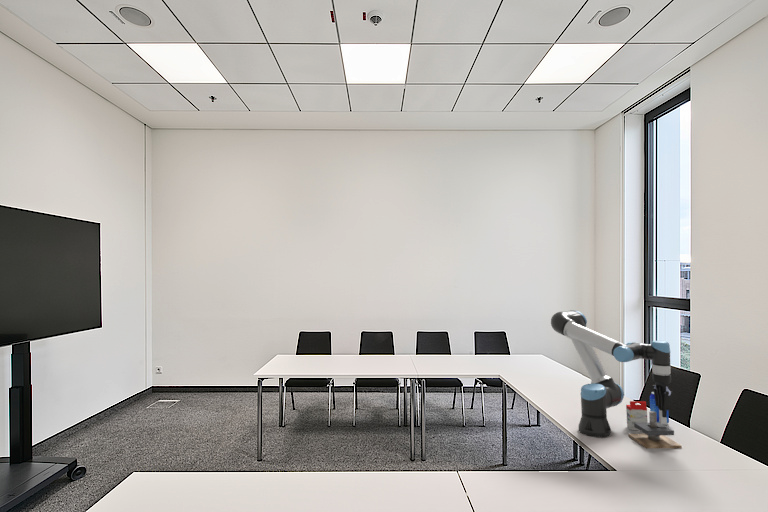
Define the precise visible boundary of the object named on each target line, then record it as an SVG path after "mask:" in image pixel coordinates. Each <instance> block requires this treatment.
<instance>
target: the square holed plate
mask: <svg viewBox="0 0 768 512" xmlns="http://www.w3.org/2000/svg"><path fill="white" fill-rule="evenodd" d="M634 427H635V428H637V429H638V430H637V431H640V432H642V434H646V435H665V436H675V431H674V430H673V429H671V428H670V427H667V425H663V424H660V423H657V428H650V422H648V423H634Z"/></svg>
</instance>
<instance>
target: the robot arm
mask: <svg viewBox="0 0 768 512" xmlns="http://www.w3.org/2000/svg"><path fill="white" fill-rule="evenodd" d="M587 323H588V321H587V318H586V316H585V314H583V313H582V312H581V311H578V310H571V309H570V310H567V311H565V310H564V311H558V312H556V313H554V314H553V315H552V316H551V319H550V326H551V328H552V329H553V330H554V331H555V332H556V333H557V334H560V335H562V336H565V337H566V338H568V339H569V340H571V341H572V344H573V346H574V348H575V350H576V352H577V354H578V356H579V358H580V361H581V362H582V365H583V367H584V368H585V370H586V372H587V374H588V377H589V379H590V383H587V384H584V385H582V386H581V388H580V404H581V417H580V420H579V423H578V432H579V433H580V434H582V435H585V436H588V437H593V438H607V437H610V436H612V428H611V426H610V423H609V420H608V415H607V411H608V410H607V409H610V408H614V407H617V406H618V405H620V404H621V403H622V402H623V400H624V396H625V394H624V393H625V392H624V390H623V388H622V386H621V385H620V384H618V383H617V382H615V381H614V379H613V377H611V376H609V375H608V373H607V372H606V370H605V368H604V366H603V364H602V361H601V360H600V358H599V356H598V354H597V352H596V349H597V350H599V351H602V352H604V353H607V354H608V355H610V356H612V357H614V359H615V360H616V361H618V362H619V363H629V362H632V361H636V360H640V359H641V360H649V361H651V363H652V366H651V369H652V381H653V382H654V384H653V385H652V386H651V387H652V390H653V391H652V392H654V397H655V403H656V406H658V409H659V423H660V424H667V410H668V411H670V410H671V402H672V397H673V394H674V393H673V391H671V390H670V386H669V384H670V383H672V375H671V369H672V367H671V347H670V342H668V341H664V340H653V341H651V343H649V344H648V343H642V342H637V341H632V342H631V341H628V342H627V343H626V344H625V343H624V342H621V341H618V340H616V339H614V338H611V337H608V336H607V335H604V334H601V333H599V332H597V331H595V330H593V329H590V328H588V327H587ZM667 425H668V424H667Z"/></svg>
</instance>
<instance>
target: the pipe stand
mask: <svg viewBox="0 0 768 512" xmlns="http://www.w3.org/2000/svg"><path fill="white" fill-rule="evenodd" d="M648 414H649V416H648V417H649V423H650V428H657V413H656V412H653V411H650V410H649V412H648ZM628 437H629V438H630V439H632V440H633V441H634V442H636V443H638V444H639V445H641V446H642V447H643V448H645V449H682V448H683V447H682V446H683V445H682V444H680V443H679V442H676V441H675V440H673V439H671V438H670V437H668V436H667V435H646V434H645V433H628Z"/></svg>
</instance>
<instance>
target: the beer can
mask: <svg viewBox="0 0 768 512" xmlns="http://www.w3.org/2000/svg"><path fill="white" fill-rule="evenodd" d="M650 411H653V412H656V413H657V423H659V409H658V406H656V403H655V397H654V391H651V393H650V395H649V412H650ZM669 412H670V410H667V424H663V425H664V426H667V425H668V424H669V423H670V418H669V417H670V416H669Z"/></svg>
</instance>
